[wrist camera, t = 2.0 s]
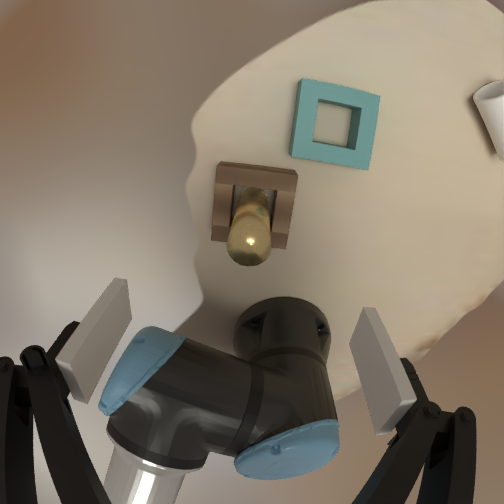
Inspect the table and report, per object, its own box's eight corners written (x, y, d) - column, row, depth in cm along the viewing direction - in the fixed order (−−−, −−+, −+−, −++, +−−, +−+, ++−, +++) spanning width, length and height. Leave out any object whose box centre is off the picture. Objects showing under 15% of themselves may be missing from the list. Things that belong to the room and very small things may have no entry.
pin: (266, 215, 38) (267, 268, 25) (237, 212, 38) (225, 263, 25) (269, 188, 36) (274, 228, 24) (240, 185, 36) (228, 223, 23)
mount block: (283, 238, 39) (285, 249, 36) (215, 229, 39) (211, 240, 36) (294, 170, 35) (298, 175, 32) (221, 161, 35) (216, 165, 32)
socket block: (359, 165, 34) (368, 170, 31) (288, 153, 34) (291, 156, 31) (369, 97, 31) (380, 96, 27) (298, 82, 30) (302, 78, 27)
